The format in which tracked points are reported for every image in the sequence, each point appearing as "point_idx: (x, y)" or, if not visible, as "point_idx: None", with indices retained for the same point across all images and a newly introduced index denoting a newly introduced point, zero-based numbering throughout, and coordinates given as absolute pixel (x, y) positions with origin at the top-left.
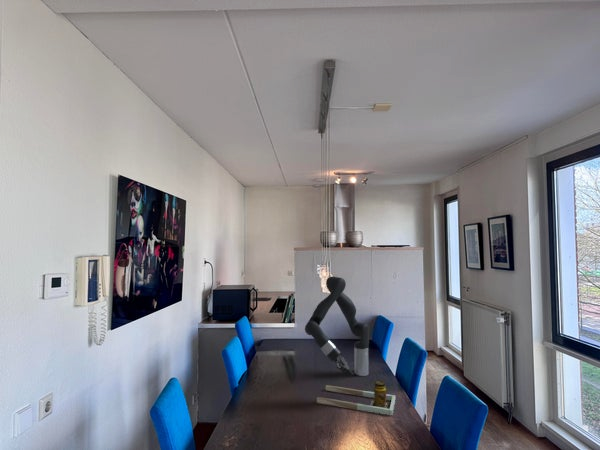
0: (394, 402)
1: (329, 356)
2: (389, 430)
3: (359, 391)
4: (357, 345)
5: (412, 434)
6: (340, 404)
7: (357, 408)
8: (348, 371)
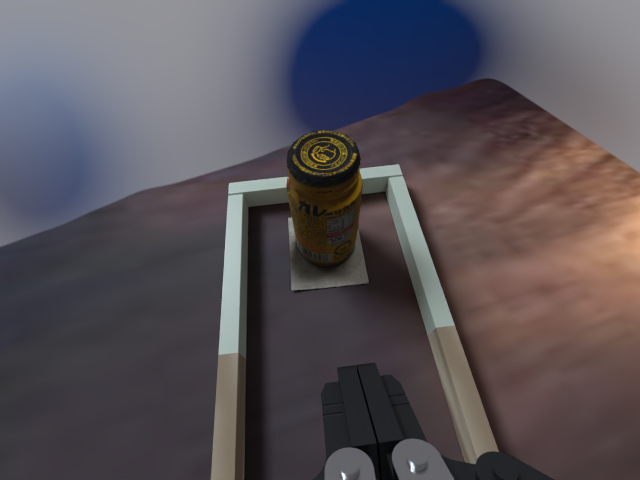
0: None
1: None
2: (516, 166)
3: (237, 380)
4: None
5: (480, 113)
6: None
7: None
8: (421, 433)
